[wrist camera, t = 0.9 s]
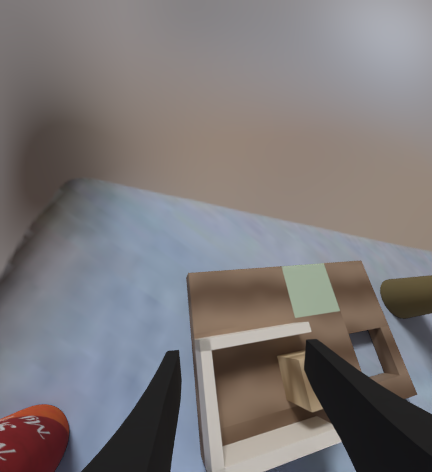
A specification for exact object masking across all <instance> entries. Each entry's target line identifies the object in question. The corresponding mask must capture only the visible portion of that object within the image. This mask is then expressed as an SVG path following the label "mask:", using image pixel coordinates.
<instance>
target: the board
mask: <svg viewBox="0 0 432 472" xmlns="http://www.w3.org/2000/svg"><path fill="white" fill-rule="evenodd" d="M324 266H325V268H326V271H327V274H328V277H329V280H330V283H331V286H332V289H333V292H334V294H335V297H336V300H337V303H338V306H339V309H340V311H337V312H330V313H324V314H318V315H311V316H305V317H298V318H295V316H294V312H293V308H292V304H291V300H290V297H289V293H288V289H287V285H286V281H285V278H284V274H283V270H282V266H280V267H266V268H252V269H238V270H224V271H211V272H197V273H188V275H187V277H186V279H187V291H188V303H189V316H190V328H191V340H192V352H193V364H194V377H195V389H196V401H197V413H198V426H199V438H200V450H201V457H202V460H203V463H204V465H205V457H204V446H203V434H202V423H201V411H200V400H199V388H198V377H197V365H196V353H195V342H194V339H198V338H204V337H210V336H216V335H222V334H229V333H235V332H241V331H247V330H253V329H259V328H265V327H271V326H277V325H284V324H290V323H299V322H309V324H310V328H311V331H312V332H308V333H303V334H297V335H292V336H286V337H281V338H275V339H270V340H265V341H259V342H254V343H248V344H243V345H237V346H232V347H226V348H221V349H215V350H212V359H213V368H214V377H215V386H216V395H217V403H218V412H219V421H220V430H221V439H222V446H226V445H229V444H232V443H235V442H238V441H241V440H244V439H247V438H250V437H253V436H256V435H259V434H263V433H266V432H269V431H272V430H275V429H278V428H281V427H284V426H287V425H290V424H293V423H297V422H300V421H303V420H306V419H309V418H312V417H315V416H318V417H320V418H322V419H324V420H326V421H327V422H329V423H331V422H330V420H329V418H328V416H327V415H326V413H325V411H324V409H321V410H318V411H315V412H310V411H308V410H306V409H304V408H302V407H300V406H298V405H296V404H294V403H292V402H290V401H288V400H287V399H286V394H285V390H284V385H283V380H282V376H281V371H280V367H279V362H278V358H277V356H279V355H283V354H288V353H293V352H298V351H302V350H305V347H306V340H307V339H318V340H319V341H320V342H322V343H323V344H324V345H326V346H327V347H328V348H330V349H331V350H332V351H334V352H335V353H336V354H338V355H339V356H340V357H341V358H343V359H344V360H345V361H347V362H348V363H350V364H351V365H352V366H354V367H355V368H356V369H358V370H359V371H361V369H360V366H359V363H358V360H357V357H356V354H355V351H354V349H353V346H352V343H351V340H350V337H349V334H350V333H355V332H360V331H365V330H368V331H369V334H370V337H371V339H372V342H373V344H374V347H375V350H376V352H377V355H378V357H379V360H380V363H381V365H382V368H383V371H384V373H382V374H378V375H375V376H371V377H369V378H371V379H372V380H374V381H375V382H377V383H378V384H380V385H382V386H383V387H385V388H386V389H388V390H390V391H391V392H393V393H395V394H396V395H398V396H400V397H401V398H403V399H406V398H409V397H411V396H414V395H417V393H416V390H415V388H414V386H413V383H412V381H411V378H410V376H409V374H408V371H407V369H406V366H405V364H404V362H403V359H402V357H401V354H400V352H399V350H398V347H397V345H396V343H395V340H394V338H393V335H392V333H391V331H390V328H389V326H388V323H387V321H386V319H385V316H384V314H383V311H382V309H381V307H380V304H379V302H378V300H377V297H376V295H375V292H374V290H373V288H372V285H371V283H370V280H369V278H368V276H367V273H366V271H365V269H364V266H363V264H362V261H349V262H335V263H324ZM331 424H332V423H331Z"/></svg>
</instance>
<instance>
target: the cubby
mask: <svg viewBox="0 0 432 472" xmlns="http://www.w3.org/2000/svg"><path fill="white" fill-rule="evenodd" d="M308 332H312V331H311V328H310V324H309V322H299V323H290V324H284V325H277V326H271V327H265V328H259V329H253V330H247V331H241V332H235V333H229V334H222V335H216V336H210V337H204V338H198V339H194V342H195V353H196V365H197V377H198V388H199V400H200V411H201V423H202V434H203V446H204V457H205V468H206V471H207V472H264V471H267V470H269V469H272V468H275V467H277V466H280V465H283V464H285V463H288V462H290V461H293V460H296V459H298V458H301V457H303V456H306V455H309V454H311V453H314V452H317V451H319V450H322V449H324V448H327V447H330V446H332V445H335V444H337V443H340V442H342V441H341V439H340V437H339V436H338V434H337V432H336V430H335V429H334V427H333V425H332V424H331V423H329V422H327V421H326V420H324V419H322V418H320V417H318V416H315V417H312V418H309V419H306V420H303V421H300V422H297V423H293V424H290V425H287V426H284V427H281V428H278V429H275V430H272V431H269V432H266V433H263V434H259V435H256V436H253V437H250V438H247V439H244V440H241V441H238V442H235V443H232V444H229V445H226V446H222V439H221V430H220V421H219V412H218V403H217V395H216V386H215V377H214V368H213V359H212V350H215V349H221V348H226V347H232V346H237V345H243V344H248V343H254V342H259V341H265V340H270V339H275V338H281V337H286V336H292V335H297V334H303V333H308Z"/></svg>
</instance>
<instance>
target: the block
mask: <svg viewBox="0 0 432 472" xmlns="http://www.w3.org/2000/svg"><path fill="white" fill-rule="evenodd" d="M277 358H278V362H279V367H280V371H281V376H282V380H283V385H284V390H285V394H286V399H287V400H288V401H290V402H292V403H294V404H296V405H298V406H300V407H302V408H304V409H306V410H308V411H310V412H315V411H318V410H321V409H323V408H322V406H321V404H320V402H319V400H318V399H317V397H316V395H315V393H314V391H313V389H312V387H311V385H310V383H309V381H308V378H307V376H306V373H305V371H304V360H305V350H302V351H298V352H293V353H288V354H283V355H279V356H277Z"/></svg>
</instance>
